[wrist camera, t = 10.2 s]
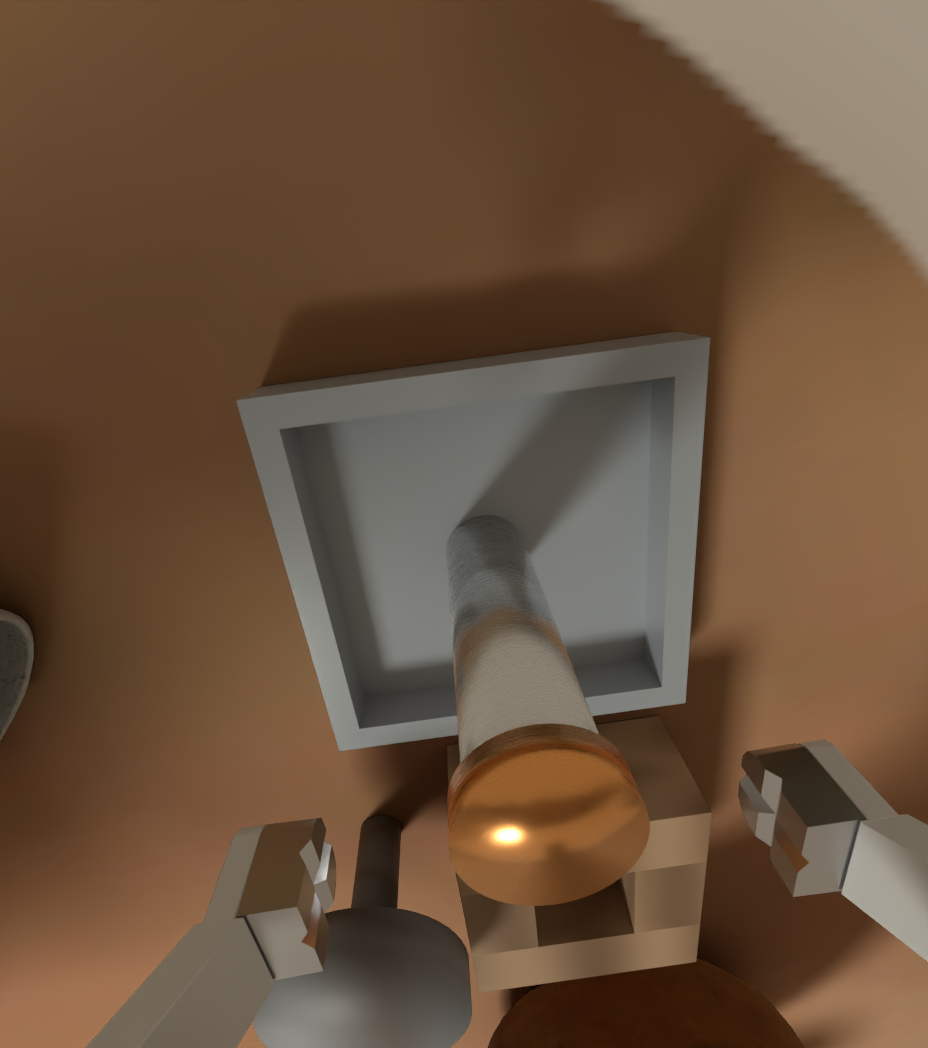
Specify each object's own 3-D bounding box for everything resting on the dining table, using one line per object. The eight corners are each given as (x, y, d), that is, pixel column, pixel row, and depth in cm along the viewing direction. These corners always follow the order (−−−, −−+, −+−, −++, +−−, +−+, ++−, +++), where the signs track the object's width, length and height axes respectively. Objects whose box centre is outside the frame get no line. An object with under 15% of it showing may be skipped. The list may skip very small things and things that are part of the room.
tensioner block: (324, 901, 29) (291, 1098, 22) (275, 769, 24) (215, 958, 18) (653, 855, 29) (725, 1034, 22) (659, 715, 25) (750, 882, 18)
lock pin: (444, 598, 21) (462, 918, 10) (431, 514, 19) (435, 785, 9) (535, 586, 21) (647, 890, 10) (529, 501, 19) (653, 755, 9)
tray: (347, 707, 23) (339, 751, 21) (259, 386, 18) (236, 400, 15) (661, 664, 23) (685, 703, 21) (675, 331, 18) (710, 337, 15)
